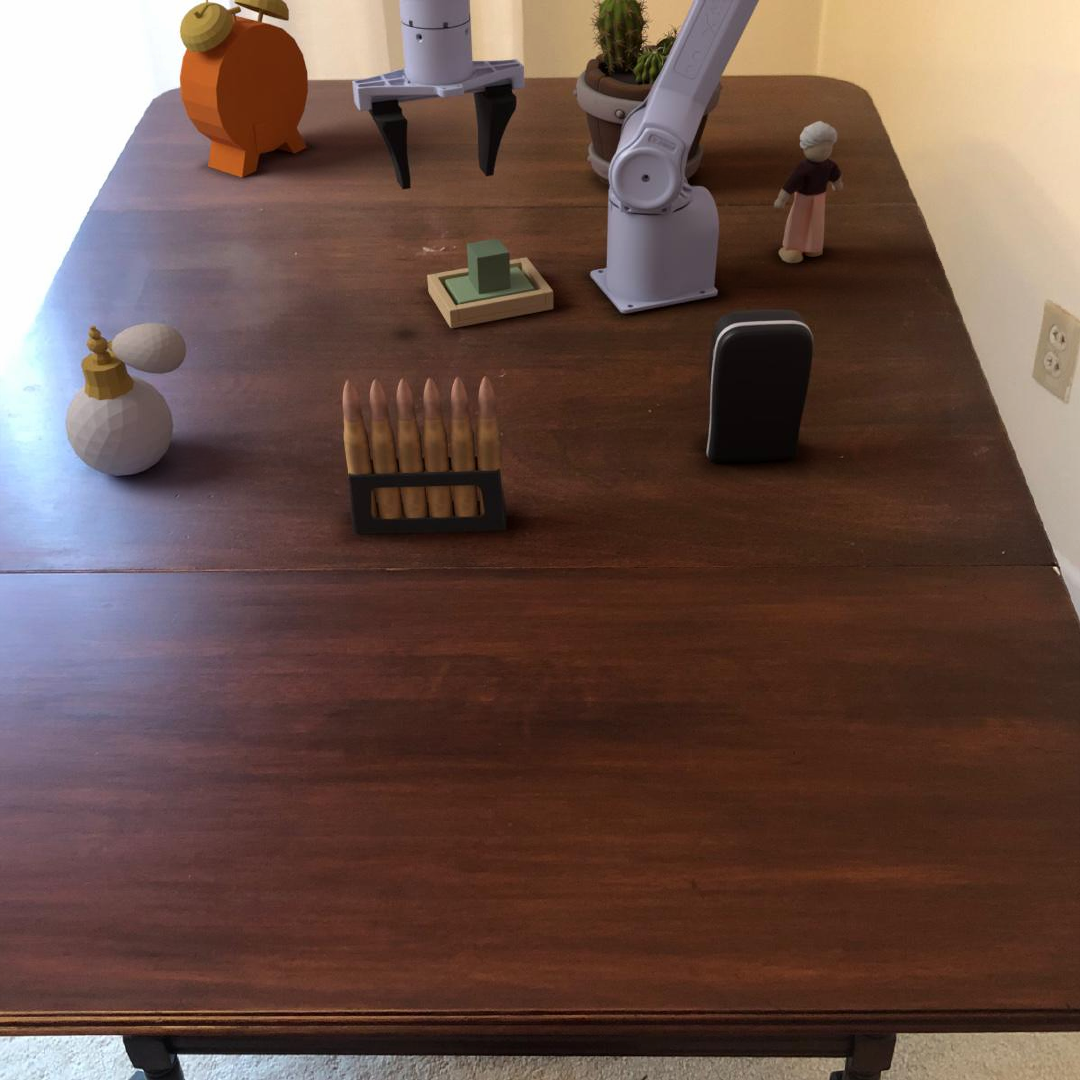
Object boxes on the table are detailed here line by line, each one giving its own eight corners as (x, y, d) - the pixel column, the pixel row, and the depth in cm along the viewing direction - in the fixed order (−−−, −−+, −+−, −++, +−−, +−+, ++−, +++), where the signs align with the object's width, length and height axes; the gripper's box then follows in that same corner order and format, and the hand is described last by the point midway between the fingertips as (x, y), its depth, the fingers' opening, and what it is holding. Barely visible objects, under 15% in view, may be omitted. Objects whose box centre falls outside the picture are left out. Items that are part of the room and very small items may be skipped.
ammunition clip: (352, 534, 85) (331, 388, 77) (355, 517, 87) (334, 372, 79) (506, 530, 85) (500, 384, 78) (506, 513, 87) (500, 368, 79)
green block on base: (518, 276, 113) (517, 230, 110) (534, 298, 109) (534, 251, 106) (445, 289, 111) (442, 243, 108) (460, 312, 108) (457, 265, 105)
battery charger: (788, 432, 94) (807, 299, 87) (799, 462, 91) (820, 326, 84) (698, 436, 94) (709, 303, 86) (706, 466, 91) (718, 330, 83)
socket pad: (527, 274, 114) (526, 256, 113) (553, 309, 109) (553, 291, 108) (428, 292, 112) (427, 274, 111) (450, 329, 107) (449, 310, 106)
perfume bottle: (80, 442, 94) (37, 303, 86) (208, 423, 96) (178, 285, 88) (77, 500, 88) (31, 357, 81) (214, 478, 90) (181, 336, 83)
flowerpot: (736, 165, 133) (754, -31, 120) (670, 218, 123) (683, 10, 110) (620, 139, 139) (625, -50, 126) (548, 187, 129) (547, -13, 117)
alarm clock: (279, 131, 142) (251, -54, 129) (318, 143, 139) (293, -46, 127) (193, 170, 134) (153, -24, 121) (232, 183, 131) (196, -14, 118)
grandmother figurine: (793, 272, 114) (811, 139, 106) (762, 258, 116) (777, 127, 108) (845, 247, 118) (866, 116, 110) (813, 233, 120) (831, 105, 112)
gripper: (360, 44, 95) (377, 208, 104) (535, 22, 99) (537, 183, 107) (340, 18, 100) (357, 177, 109) (507, -2, 104) (511, 153, 112)
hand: (445, 178), depth 108 cm, fingers open, 7 cm apart
